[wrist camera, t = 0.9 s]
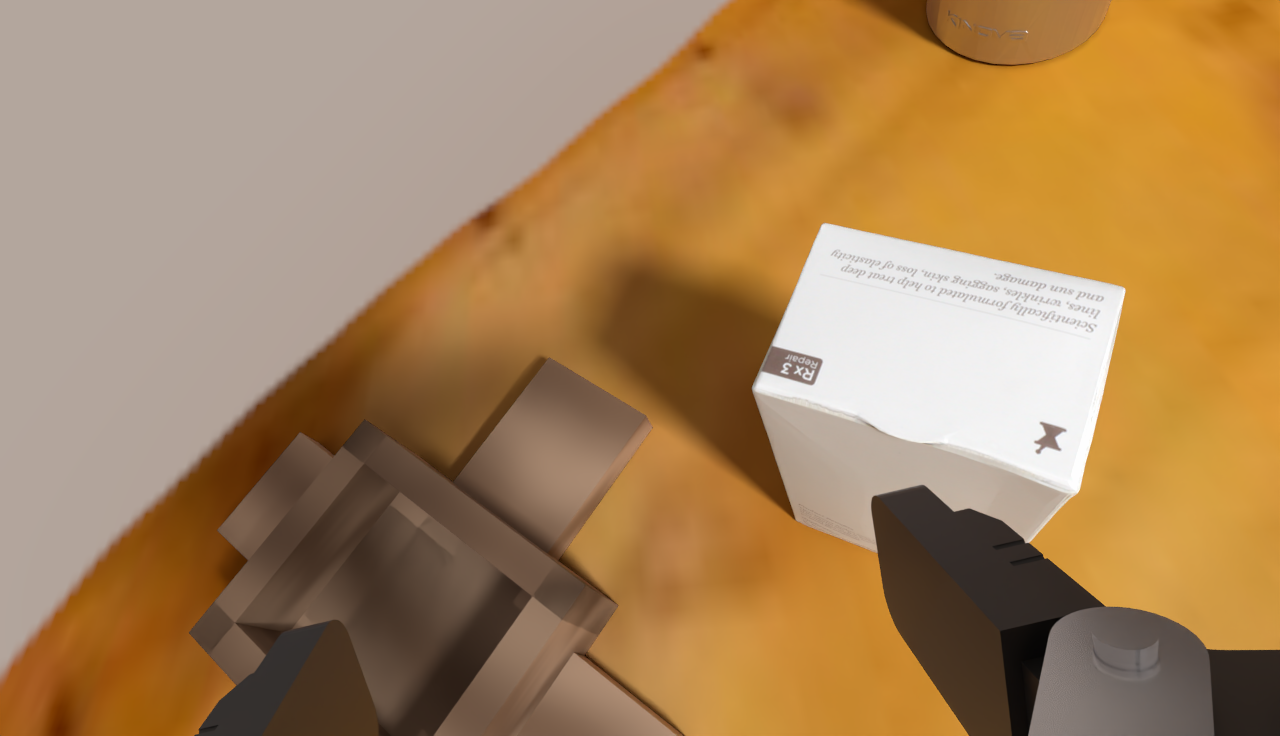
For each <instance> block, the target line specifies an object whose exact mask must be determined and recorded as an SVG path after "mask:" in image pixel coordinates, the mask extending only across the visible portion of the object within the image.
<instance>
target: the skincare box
mask: <svg viewBox="0 0 1280 736" xmlns="http://www.w3.org/2000/svg"><path fill="white" fill-rule="evenodd" d="M1124 295H1125V289H1124V288H1123V287H1121V286H1117V285H1113V284H1109V283H1104V282H1100V281H1095V280H1091V279H1086V278H1081V277H1076V276H1071V275H1066V274H1062V273H1057V272H1052V271H1047V270H1042V269H1038V268H1033V267H1028V266H1024V265H1019V264H1015V263H1010V262H1005V261H1000V260H995V259H990V258H986V257H981V256H977V255H972V254H968V253H964V252H959V251H954V250H949V249H945V248H940V247H935V246H931V245H926V244H921V243H916V242H912V241H907V240H902V239H897V238H893V237H888V236H883V235H879V234H874V233H869V232H865V231H860V230H855V229H851V228H846V227H842V226H837V225H832V224H827V223H824V224H822V225H821V227H820V230H819V232H818V235H817V237H816V239H815V241H814V244H813V246H812V248H811V251H810V253H809V256H808V258H807V260H806V263H805V265H804V268H803V270H802V273H801V275H800V278H799V280H798V283H797V285H796V287H795V290H794V292H793V294H792V297H791V299H790V301H789V304H788V306H787V308H786V311H785V313H784V315H783V318H782V320H781V322H780V324H779V327H778V329H777V331H776V334H775V336H774V338H773V340H772V343H771V345H770V347H769V350H768V352H767V354H766V356H765V359H764V361H763V363H762V366H761V368H760V370H759V372H758V375H757V377H756V379H755V381H754V384H753V386H752V392H753V394H754V397H755V400H756V403H757V406H758V409H759V412H760V415H761V418H762V420H763V423H764V426H765V429H766V432H767V435H768V438H769V441H770V444H771V447H772V450H773V453H774V456H775V460H776V462H777V465H778V468H779V471H780V474H781V477H782V480H783V483H784V486H785V489H786V492H787V495H788V498H789V501H790V504H791V507H792V510H793V513H794V516H795V520H796V521H798V522H800V523H802V524H804V525H806V526H809V527H811V528H814V529H816V530H819V531H822V532H824V533H827V534H829V535H832V536H835V537H837V538H840V539H842V540H845V541H848V542H850V543H853V544H855V545H858V546H860V547H863V548H865V549H868V550H871V551H873V552H876V553H878V551H877V545H876V538H875V532H874V525H873V519H872V512H871V500H872V497H873V496H874V495H879V494H883V493H887V492H892V491H896V490H900V489H905V488H909V487H913V486H918V485H925V486H926V487H928V488H929V489H930V490H931V491H932V492H933V493H934V494H935V495H936V496H937V497H938V498H940V499H941V500H942V501H943V502H944V503H945V504H946V505H947V506H948V507H949V508H951V509H952V510H953V511H954V512H955V511H959V510H964V509H968V508H970V509H972V510H975V511H978V512H980V513H983V514H986V515H988V516H991V517H994V518H996V519H999V520H1002V521H1003V522H1004V523H1005V524H1007V525H1008V526H1009V527H1010V528H1011V529H1013V530H1014V531H1015V532H1016V533H1018V534H1019V535H1020V536H1021V537H1022V538H1024V541H1025V543H1029V542H1030V541H1031V540H1032V539H1033V538H1034V537H1035V536H1036V535H1037V533H1038V532H1039V531H1040V530H1041V529H1042V528H1043V527H1044V526H1045V524H1046V523H1047V522H1048V521H1049V520H1050V519H1051V518H1052V517H1053V515H1054V514H1055V513H1056V512H1057V511H1058V510H1059V509H1060V508H1061V507H1062V506H1063V505H1064V504H1065V503H1066V502H1067V501H1068V500H1069V499H1070V498H1071V497H1073V496H1074V495H1076V494H1077V493H1078V492H1079V490H1080V486H1081V482H1082V477H1083V473H1084V468H1085V464H1086V460H1087V456H1088V453H1089V449H1090V446H1091V442H1092V438H1093V434H1094V429H1095V425H1096V421H1097V417H1098V412H1099V408H1100V404H1101V400H1102V395H1103V391H1104V387H1105V382H1106V378H1107V373H1108V369H1109V364H1110V360H1111V355H1112V351H1113V346H1114V342H1115V337H1116V333H1117V328H1118V324H1119V319H1120V314H1121V309H1122V304H1123V299H1124Z"/></svg>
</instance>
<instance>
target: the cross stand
mask: <svg viewBox="0 0 1280 736" xmlns="http://www.w3.org/2000/svg"><path fill="white" fill-rule="evenodd" d="M652 428H653V427H652V425H651V423H650V422H649V420H648V418H647V416H646V415H644V414H642V413H641V412H639V411H637V410H636V409H634V408H632V407H631V406H629V405H627V404H626V403H624V402H622V401H621V400H619V399H617V398H616V397H614V396H613V395H611V394H609V393H608V392H606V391H604V390H603V389H601V388H599V387H598V386H596V385H594V384H593V383H591V382H589V381H588V380H586V379H584V378H583V377H581V376H579V375H578V374H576V373H574V372H573V371H571V370H569V369H568V368H566V367H564V366H563V365H561V364H559V363H558V362H556V361H554V360H553V359H551V358H548V360H547V361H546V362H545V363H544V365H543V366H542V367H541V369H540V370H539V371H538V373H537V374H536V375H535V376H534V378H533V379H532V380H531V382H530V383H529V384H528V386H527V387H526V388H525V389H524V391H523V392H522V393H521V395H520V396H519V397H518V399H517V400H516V401H515V402H514V404H513V405H512V406H511V408H510V409H509V410H508V411H507V413H506V414H505V415H504V417H503V418H502V419H501V421H500V422H499V423H498V424H497V426H496V427H495V428H494V430H493V431H492V432H491V434H490V435H489V436H488V437H487V439H486V440H485V441H484V443H483V444H482V445H481V447H480V448H479V449H478V450H477V452H476V453H475V454H474V456H473V457H472V458H471V459H470V461H469V462H468V463H467V465H466V466H465V467H464V469H463V470H462V471H461V472H460V474H459V475H458V476H457V478H456V479H455V480H454V482H452V481H451V480H450V479H448V478H447V477H446V476H444V475H443V474H442V473H440V472H439V471H438V470H436V469H435V468H434V467H432V466H431V465H430V464H428V463H427V462H426V461H424V460H423V459H422V458H420V457H419V456H418V455H416V454H415V453H413V452H412V451H410V450H409V449H407V448H406V447H405V446H403V445H402V444H400V443H399V442H397V441H396V440H394V439H393V438H391V437H390V436H388V435H387V434H386V433H384V432H383V431H381V430H380V429H378V428H377V427H375V426H374V425H372V424H371V423H369V422H368V421H367V420H365V419H364V421H363V422H362V423H361V424H360V426H359V427H358V428H357V429H356V430H355V432H354V433H353V434H352V435H351V436H350V438H349V439H348V440H347V441H346V443H345V444H344V445H343V446H342V447H341V449H340V450H339V451H338V452H337V453H336V455H335V456H334V455H333V454H332V453H331V452H329V451H328V450H327V449H326V448H324V447H323V446H322V445H321V444H319V443H318V442H317V441H315V440H313V439H312V438H310V437H308V436H306V435H305V434H303V433H301V432H300V433H299V434H298V435H297V436H296V438H295V439H294V440H293V441H292V442H291V444H290V445H289V446H288V447H287V448H286V449H285V451H284V452H283V453H282V454H281V455H280V457H279V458H278V459H277V460H276V461H275V462H274V464H273V465H272V466H271V467H270V468H269V470H268V471H267V472H266V473H265V474H264V476H263V477H262V478H261V479H260V480H259V481H258V483H257V484H256V485H255V486H254V487H253V489H252V490H251V491H250V492H249V493H248V494H247V496H246V497H245V498H244V499H243V500H242V502H241V503H240V504H239V505H238V506H237V507H236V509H235V510H234V511H233V512H232V513H231V515H230V516H229V517H228V518H227V519H226V520H225V522H224V523H223V524H222V525H221V526H220V528H219V529H218V530H217V531H218V532H219V533H220V534H221V535H222V536H223V537H224V538H226V539H227V540H228V541H229V542H230V543H231V544H232V545H233V546H234V547H235V548H236V549H237V550H238V551H239V552H240V553H241V554H242V555H243V556H244V557H245V558H246V559H247V560H248V561H247V563H246V564H245V565H244V566H243V567H242V569H241V570H240V571H239V572H238V574H237V575H236V576H235V577H234V578H233V580H232V581H231V582H230V583H229V584H228V586H227V587H226V588H225V589H224V591H223V592H222V593H221V594H220V595H219V597H218V598H217V599H216V600H215V601H214V603H213V604H212V605H211V606H210V608H209V609H208V610H207V611H206V612H205V614H204V615H203V616H202V617H201V618H200V620H199V621H198V622H197V623H196V624H195V626H194V627H193V628H192V629H191V631H190V632H189V634H190V635H191V636H192V637H193V638H194V639H195V640H196V641H197V642H198V643H199V645H200V646H201V647H202V648H203V649H204V650H205V651H206V652H207V653H208V654H209V656H210V657H211V658H212V659H213V660H214V661H215V662H216V663H217V664H218V665H219V667H220V668H221V669H222V670H223V671H224V672H225V673H226V674H227V675H228V676H229V678H230V679H231V680H232V681H233V682H234V683H235V684H236V685H238V684H239V683H240V682H242V681H243V680H244V679H245V678H246V677H247V676H248V675H250V674H252V673H254V672H255V671H256V669H257V668H258V666H259V665H260V664H261V662H262V661H263V659H264V658H265V656H266V655H267V653H268V652H269V650H270V649H271V647H272V646H273V645H274V643H275V642H276V640H277V639H278V637H279V636H280V635H281V634H282V633H283V632H284V631H287V630H292V629H296V628H300V627H305V626H309V625H313V624H317V623H322V622H326V621H330V620H339V621H340V622H341V623H343V625H344V626H345V628H346V629H347V631H348V634H349V636H350V639H351V642H352V644H353V647H354V650H355V653H356V655H357V658H358V661H359V664H360V667H361V669H362V672H363V675H364V678H365V680H366V683H367V686H368V689H369V691H370V694H371V697H372V700H373V703H374V705H375V709H376V713H377V719H378V732H379V734H378V736H683V735H682V734H681V733H680V732H678V731H677V730H676V729H675V728H673V727H672V726H671V725H670V724H668V723H667V722H666V721H665V720H663V719H662V718H661V717H660V716H658V715H657V714H656V713H655V712H653V711H652V710H651V709H650V708H648V707H647V706H646V705H645V704H643V703H642V702H641V701H640V700H638V699H637V698H636V697H635V696H633V695H632V694H631V693H630V692H629V691H627V690H626V689H625V688H624V687H622V686H621V685H620V684H619V683H617V682H616V681H615V680H614V679H612V678H611V677H610V676H609V675H607V674H606V673H605V672H604V671H602V670H601V669H600V668H599V667H597V666H596V665H595V664H594V663H592V662H591V661H590V660H589V659H587V658H586V657H585V654H586V653H587V651H588V650H589V648H590V647H591V645H592V644H593V642H594V641H595V639H596V638H597V637H598V635H599V634H600V632H601V631H602V629H603V628H604V626H605V625H606V623H607V622H608V620H609V619H610V617H611V616H612V614H613V613H614V611H615V610H616V608H617V607H618V605H617V604H616V603H614V602H613V601H612V600H610V599H609V598H608V597H606V596H605V595H604V594H602V593H601V592H600V591H598V590H597V589H596V588H594V587H593V586H592V585H590V584H589V583H588V582H586V581H585V580H584V579H582V578H581V577H580V576H578V575H577V574H576V573H574V572H573V571H572V570H570V569H569V568H568V567H566V566H565V565H564V564H562V563H561V562H559V561H558V560H559V559H560V557H561V556H562V555H563V553H564V552H565V550H566V549H567V548H568V546H569V545H570V543H571V542H572V540H573V539H574V538H575V536H576V535H577V533H578V532H579V531H580V529H581V528H582V526H583V525H584V524H585V522H586V521H587V519H588V518H589V517H590V515H591V514H592V512H593V511H594V510H595V508H596V507H597V505H598V504H599V502H600V501H601V500H602V498H603V497H604V495H605V494H606V493H607V491H608V490H609V488H610V487H611V486H612V484H613V483H614V481H615V480H616V479H617V477H618V476H619V474H620V473H621V471H622V470H623V469H624V467H625V466H626V464H627V463H628V462H629V460H630V459H631V457H632V456H633V455H634V453H635V452H636V450H637V449H638V448H639V446H640V445H641V443H642V442H643V440H644V439H645V438H646V436H647V435H648V433H649V432H650V431H651V429H652Z"/></svg>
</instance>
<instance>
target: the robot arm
mask: <svg viewBox="0 0 1280 736" xmlns="http://www.w3.org/2000/svg"><path fill="white" fill-rule="evenodd" d="M1110 2H1111V0H927V7H926V14H927V18H928V23H929V25H930V27H931V28H932V30H933V32H934V34H935V35H936V36H937V37H938V38H939V39H940V40H941V41H942V42H943V43H944V44H945V45H946V46H948V47H949V48H951V49H952V50H954V51H956V52H957V53H959V54H961V55H964V56H966V57H969V58H972V59H974V60H978V61H983V62H988V63H993V64H1009V65H1016V64H1027V63H1035V62H1039V61H1043V60H1047V59H1052V58H1054V57H1057V56H1059V55H1062V54H1064V53H1067V52H1069V51H1071V50H1073V49H1074V48H1076V47H1077V46H1079V45H1080V44H1082V43H1084V42H1085V41H1086V40H1087V39H1088V38H1089V37H1090V36H1091V35H1092V34H1093V33H1094V32H1096V31H1097V29H1098V28H1099V26H1100V24H1101V23H1102V21H1103V19H1104V18H1105V15H1106V13H1107V10H1108V7H1109V5H1110ZM871 512H872V519H873V525H874V532H875V538H876V545H877V551H878V557H879V564H880V570H881V577H882V583H883V589H884V594H885V598H886V602H887V605H888V608H889V611H890V614H891V617H892V619H893V621H894V624H895V626H896V628H897V630H898V631H899V633H900V635H901V636H902V638H903V639H904V640H905V642H906V643H907V645H908V646H909V648H910V649H911V651H912V652H913V654H914V655H915V657H916V658H917V660H918V661H919V663H920V664H921V665H922V667H923V668H924V670H925V671H926V673H927V674H928V676H929V677H930V679H931V680H932V682H933V683H934V685H935V686H936V687H937V689H938V690H939V692H940V693H941V695H942V696H943V698H944V699H945V701H946V702H947V704H948V705H949V707H950V708H951V710H952V711H953V712H954V714H955V715H956V717H957V718H958V720H959V721H960V723H961V724H962V726H963V727H964V729H965V730H966V732H967V733H968V734H969V736H1280V650H1210V649H1206V647H1205V646H1204V644H1203V643H1202V642H1201V640H1200V639H1199V638H1198V637H1197V636H1196V635H1195V634H1193V633H1192V632H1191V631H1190V630H1188V629H1187V628H1185V627H1184V626H1182V625H1180V624H1179V623H1177V622H1174V621H1172V620H1170V619H1168V618H1166V617H1163V616H1160V615H1157V614H1154V613H1150V612H1147V611H1143V610H1137V609H1132V608H1123V607H1106V606H1104V605H1103V604H1102V603H1101V602H1100V601H1098V600H1097V599H1096V598H1095V597H1094V596H1092V595H1091V594H1090V593H1089V592H1088V591H1086V590H1085V589H1084V588H1083V587H1081V586H1080V585H1079V584H1078V583H1077V582H1075V581H1074V580H1073V579H1072V578H1071V577H1069V576H1068V575H1067V574H1066V573H1065V572H1063V571H1062V570H1061V569H1060V568H1059V567H1057V566H1056V565H1055V564H1054V563H1053V562H1051V561H1050V560H1049V559H1048V558H1047V559H1044V557H1043V554H1042V553H1040V552H1039V551H1038V550H1037V549H1036V548H1034V547H1033V546H1032V545H1031V544H1030V543H1025V541H1024V538H1022V537H1021V536H1020V535H1019V534H1018V533H1016V532H1015V531H1014V530H1013V529H1011V528H1010V527H1009V526H1008V525H1007V524H1005V523H1004V522H1003V521H1002V520H999V519H996V518H994V517H991V516H988V515H986V514H983V513H980V512H978V511H975V510H972V509H970V508H968V509H964V510H959V511H955V512H954V511H953V510H952V509H951V508H949V507H948V506H947V505H946V504H945V503H944V502H943V501H942V500H941V499H940V498H938V497H937V496H936V495H935V494H934V493H933V492H932V491H931V490H930V489H929V488H928V487H926V486H925V485H918V486H913V487H909V488H905V489H900V490H896V491H892V492H887V493H883V494H879V495H874V496H873V497H872V500H871ZM378 734H379V732H378V719H377V713H376V709H375V705H374V703H373V700H372V697H371V694H370V691H369V689H368V686H367V683H366V680H365V678H364V675H363V672H362V669H361V667H360V664H359V661H358V658H357V655H356V653H355V650H354V647H353V644H352V642H351V639H350V636H349V634H348V631H347V629H346V628H345V626H344V625H343V623H341V622H340V621H339V620H330V621H326V622H322V623H317V624H313V625H309V626H305V627H300V628H296V629H292V630H287V631H284V632H283V633H282V634H281V635H280V636H279V637H278V639H277V640H276V642H275V643H274V645H273V646H272V647H271V649H270V650H269V652H268V653H267V655H266V656H265V658H264V659H263V661H262V662H261V664H260V665H259V666H258V668H257V669H256V671H255V672H254V673H252V674H250V675H248V676H247V677H246V678H245V679H244V680H243V681H242V682H240V683H239V684H238V685H237V686H236V687H235V688H234V689H232V690H231V691H230V692H229V693H228V694H227V695H225V696H224V697H223V698H222V699H221V700H220V701H219V702H218V703H217V705H216V706H215V707H214V709H213V710H212V712H211V713H210V714H209V716H208V717H207V719H206V720H205V721H204V723H203V724H202V726H201V727H200V728H199V734H197V735H194V736H378Z"/></svg>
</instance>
